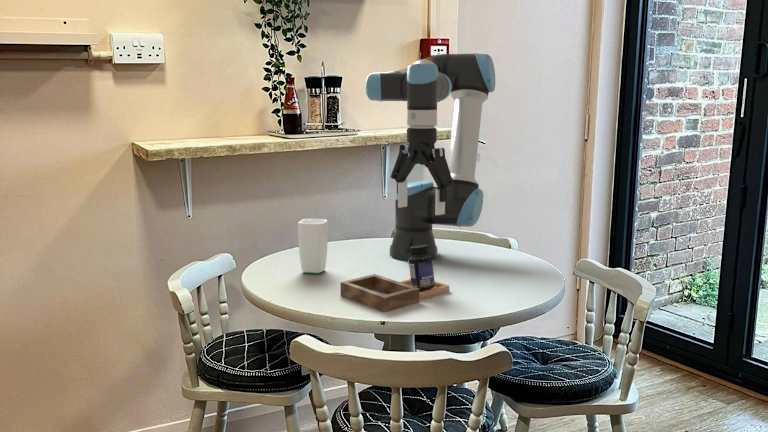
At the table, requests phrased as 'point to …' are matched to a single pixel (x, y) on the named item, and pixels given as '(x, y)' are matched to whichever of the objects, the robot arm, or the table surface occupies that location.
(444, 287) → the tray
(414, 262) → the pill bottle
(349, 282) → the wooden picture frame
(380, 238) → the table surface
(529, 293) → the table surface
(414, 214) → the robot arm
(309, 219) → the cup
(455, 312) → the table surface
